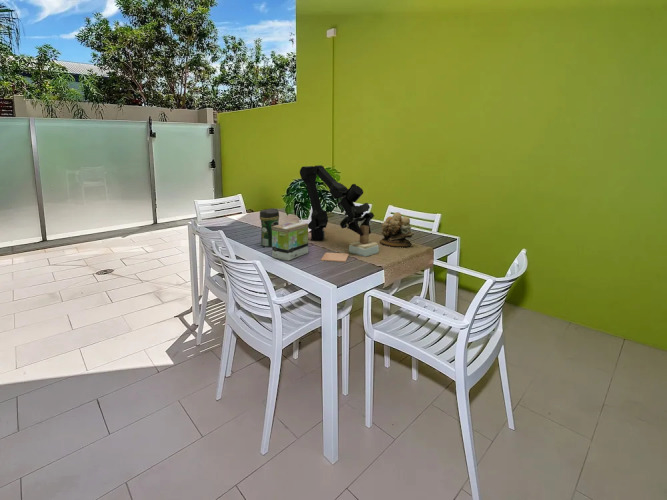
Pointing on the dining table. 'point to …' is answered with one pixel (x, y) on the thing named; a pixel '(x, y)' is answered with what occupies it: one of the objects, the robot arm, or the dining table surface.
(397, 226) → the brown lumpy sculpture
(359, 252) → the pale green square dish
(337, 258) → the tile
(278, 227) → the tea box
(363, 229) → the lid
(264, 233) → the coffee jar
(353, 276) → the dining table surface
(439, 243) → the dining table surface
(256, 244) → the dining table surface
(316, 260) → the dining table surface
